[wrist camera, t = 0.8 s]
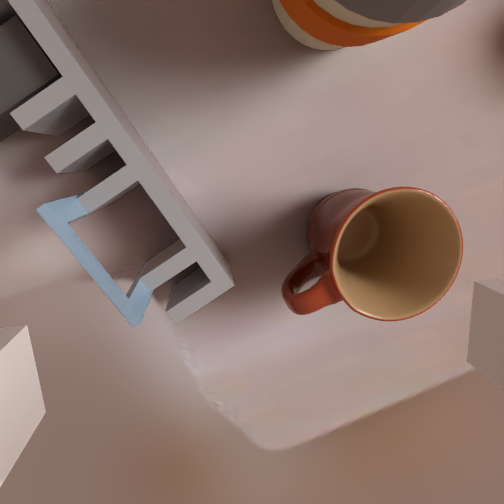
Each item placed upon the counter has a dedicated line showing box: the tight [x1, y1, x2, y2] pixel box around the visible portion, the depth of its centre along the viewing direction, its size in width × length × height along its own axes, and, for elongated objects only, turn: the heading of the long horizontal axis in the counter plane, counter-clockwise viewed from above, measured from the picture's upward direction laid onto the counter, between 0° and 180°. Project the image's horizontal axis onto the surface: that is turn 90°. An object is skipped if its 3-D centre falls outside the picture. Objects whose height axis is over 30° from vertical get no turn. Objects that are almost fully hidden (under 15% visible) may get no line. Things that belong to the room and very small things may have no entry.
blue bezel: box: [36, 193, 154, 327], centre depth 27 cm, size 8×1×11 cm, turn 34°
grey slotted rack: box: [0, 0, 235, 325], centre depth 28 cm, size 28×5×6 cm, turn 33°
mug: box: [281, 187, 463, 321], centre depth 30 cm, size 12×9×10 cm
